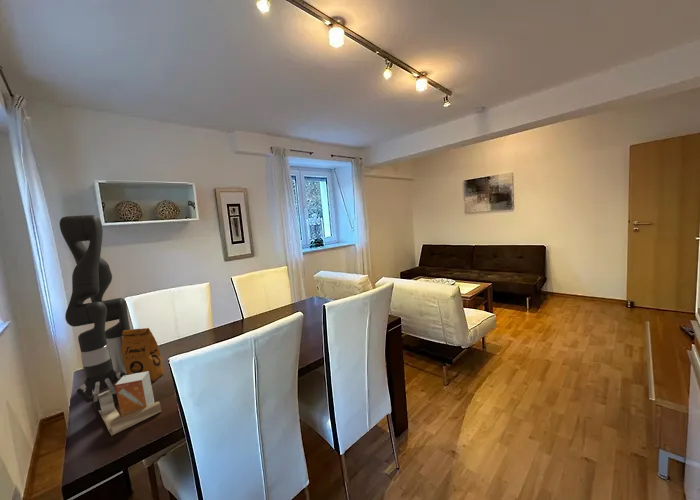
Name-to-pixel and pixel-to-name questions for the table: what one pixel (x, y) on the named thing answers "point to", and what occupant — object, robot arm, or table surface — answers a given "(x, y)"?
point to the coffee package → (141, 353)
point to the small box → (134, 393)
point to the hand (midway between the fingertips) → (106, 406)
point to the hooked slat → (118, 423)
